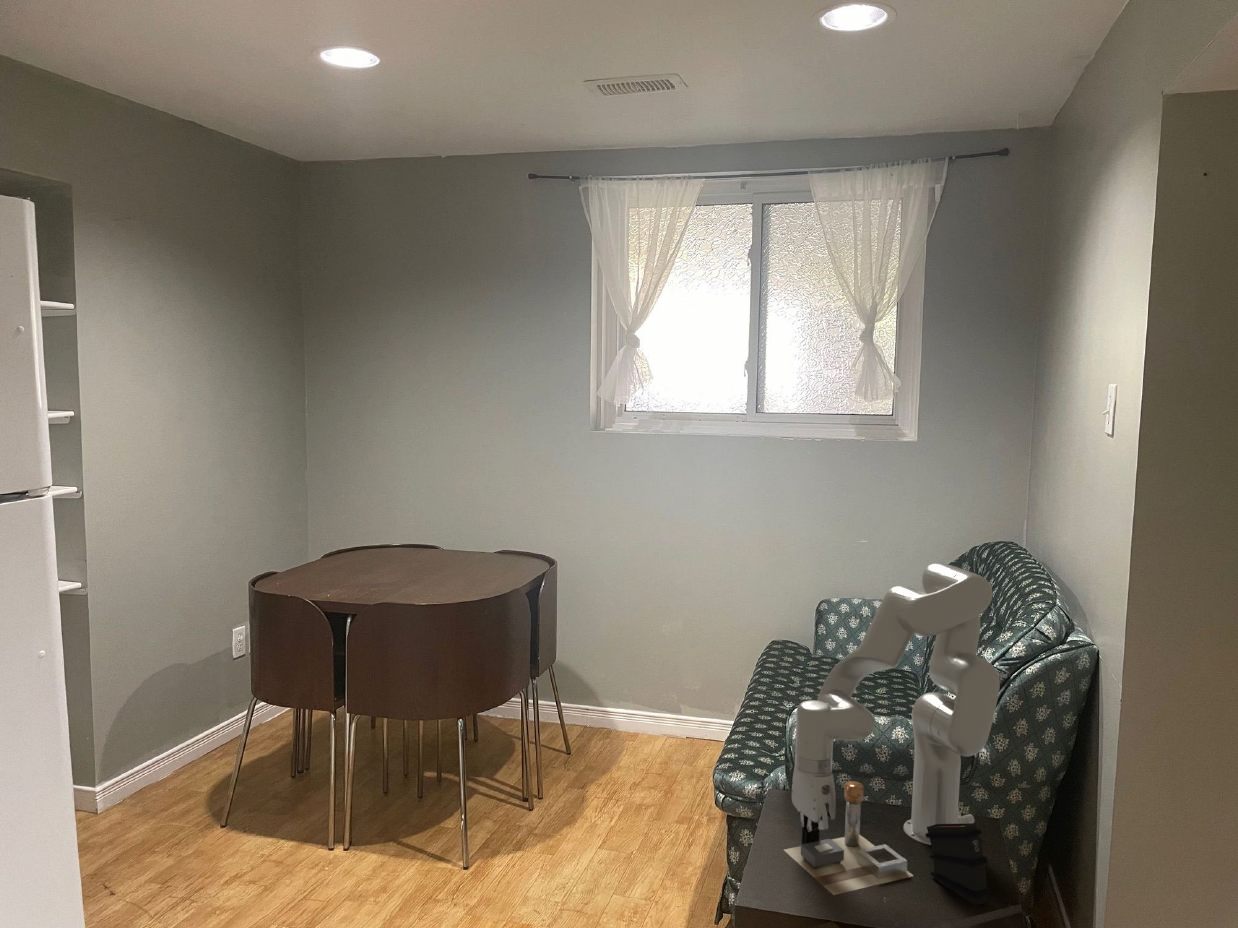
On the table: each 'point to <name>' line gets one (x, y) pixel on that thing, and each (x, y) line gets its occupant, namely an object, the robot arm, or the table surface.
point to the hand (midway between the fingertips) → (810, 845)
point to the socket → (886, 869)
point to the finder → (822, 852)
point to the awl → (853, 812)
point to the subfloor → (844, 869)
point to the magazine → (959, 860)
